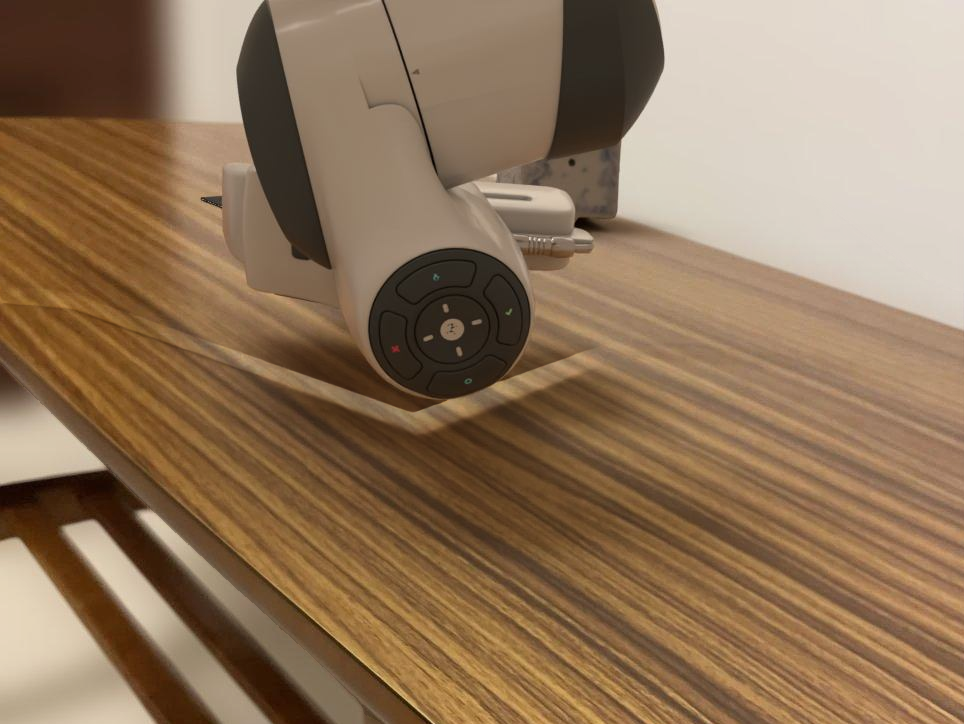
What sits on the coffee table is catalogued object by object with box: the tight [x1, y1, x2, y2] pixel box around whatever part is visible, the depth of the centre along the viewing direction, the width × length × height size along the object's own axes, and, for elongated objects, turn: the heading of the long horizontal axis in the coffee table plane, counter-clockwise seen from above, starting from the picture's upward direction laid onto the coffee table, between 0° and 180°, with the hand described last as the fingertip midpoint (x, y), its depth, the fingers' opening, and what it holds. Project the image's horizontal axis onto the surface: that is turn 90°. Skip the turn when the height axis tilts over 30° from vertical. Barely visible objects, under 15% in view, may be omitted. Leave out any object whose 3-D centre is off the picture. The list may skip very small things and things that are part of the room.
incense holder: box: [494, 140, 622, 224], centre depth 111 cm, size 10×8×10 cm
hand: (390, 188), depth 77 cm, fingers open, 8 cm apart
